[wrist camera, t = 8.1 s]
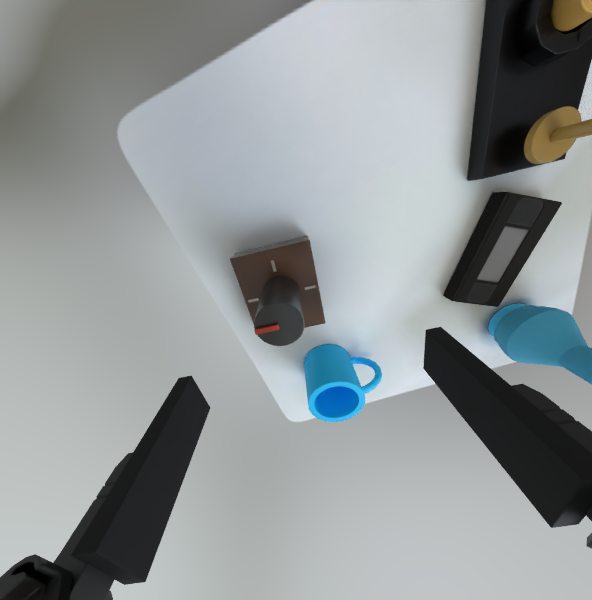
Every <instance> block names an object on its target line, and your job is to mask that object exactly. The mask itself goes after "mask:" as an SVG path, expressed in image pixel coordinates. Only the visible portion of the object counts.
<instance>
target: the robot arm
mask: <svg viewBox="0 0 592 600" xmlns="http://www.w3.org/2000/svg"><path fill="white" fill-rule="evenodd" d="M424 370H425V371H426V372H427V373H428V375H429V376H430V377H431V378H432V380H433V381H434V382H435V383H436V385H437V386H438V387H439V388H440V390H441V391H442V392H443V393H444V394H445V396H446V397H447V398H448V400H449V401H450V402H451V403H452V404H453V406H454V407H455V408H456V410H457V411H458V412H459V413H460V414H461V416H462V417H463V418H464V419H465V421H466V422H467V423H468V424H469V426H470V427H471V428H472V429H473V431H474V432H475V433H476V434H477V436H478V437H479V438H480V439H481V441H482V442H483V443H484V444H485V446H486V447H487V448H488V449H489V451H490V452H491V453H492V454H493V456H494V457H495V458H496V459H497V461H498V462H499V463H500V464H501V466H502V467H503V468H504V469H505V470H506V472H507V473H508V474H509V476H510V477H511V478H512V479H513V481H514V482H515V483H516V484H517V486H518V487H519V488H520V489H521V491H522V492H523V493H524V494H525V496H526V497H527V498H528V499H529V501H530V502H531V503H532V504H533V506H534V507H535V508H536V509H537V511H538V512H539V513H540V514H541V516H542V517H543V518H544V519H545V521H546V522H547V523H548V524H549V526H550V527H552V528H553V527H561V526H568V525H576V524H579V523H580V522H581V520H582V519H583V518H584V517H585V516H586V515H587V517H588V518H589V519H590V520H591V521H592V431H590V430H589V429H588V428H586V427H585V426H584V425H582V424H581V423H580V422H579V421H575V419H574V418H573V417H572V416H571V415H569V414H568V413H567V412H565V411H564V410H561V409H560V408H559V406H557V405H556V404H555V403H554V402H552V401H551V400H550V399H548V398H547V397H546V396H545V395H543V394H541V393H540V392H538V391H536V390H534V389H532V388H530V387H528V386H526V385H524V384H519V385H513V386H511V385H509V384H508V383H507V382H506V381H505V380H503V379H502V378H501V377H500V376H499V375H497V374H496V373H495V372H494V371H493V370H491V369H490V368H489V367H488V366H487V365H485V364H484V363H483V362H482V361H481V360H480V359H478V358H477V357H476V356H475V355H474V354H472V353H471V352H470V351H469V350H468V349H466V348H465V347H464V346H463V345H462V344H460V343H459V342H458V341H457V340H456V339H454V338H453V337H452V336H451V335H450V334H448V333H447V332H446V331H445V330H444V329H442V328H441V327H438V328H433V329H428V330H426V337H425V353H424ZM209 410H210V406H209V405H208V403H207V401H206V400H205V398H204V396H203V394H202V393H201V391H200V390H199V388H198V386H197V384H196V383H195V381H194V379H193V377H192V376H187V377H183V378H179V379H178V380H177V382H176V384H175V386H174V387H173V388H172V390H171V392H170V393H169V395H168V397H167V398H166V400H165V402H164V403H163V405H162V406H161V408H160V410H159V411H158V413H157V415H156V416H155V418H154V420H153V421H152V423H151V424H150V426H149V428H148V429H147V431H146V433H145V434H144V436H143V438H142V439H141V441H140V442H139V444H138V446H137V447H136V449H135V451H134V452H133V453H128V454H127V455H126V456H125V458H124V459H123V460H122V461H121V462H120V463H119V464H118V465H117V466H116V467H115V469H114V470H113V472H112V474H111V475H110V477H109V478H108V480H107V481H106V483H105V486H103V487H102V489H101V491H100V492H99V494H98V495H97V499H96V500H94V502H93V503H92V505H91V506H90V508H89V509H88V511H87V512H86V514H85V516H84V517H83V518H82V520H81V522H80V523H79V525H78V526H77V528H76V529H75V531H74V532H73V534H72V536H71V537H70V539H69V540H68V542H67V543H66V545H65V547H64V548H63V550H62V551H61V553H60V554H59V556H58V557H57V558H56V560H55V561H54V563H52V562H50V561H48V560H46V559H44V558H41V557H40V556H37V555H32V556H29V557H26V558H24V559H23V560H21V561H20V562H18V563H17V564H15V565H14V566H13V567H11V568H10V569H9V570H8V571H7V572H6V573H5V574H4V575H3V576H1V577H0V600H113V598H112V594H111V591H109V590H110V588H111V585H112V583H113V581H114V579H115V580H117V581H119V582H120V583H122V584H124V585H125V584H133V583H140V582H145V581H146V579H147V576H148V573H149V571H150V568H151V565H152V562H153V560H154V557H155V554H156V552H157V549H158V546H159V544H160V541H161V538H162V536H163V533H164V530H165V528H166V525H167V522H168V520H169V517H170V514H171V511H172V509H173V506H174V503H175V501H176V498H177V496H178V492H179V490H180V487H181V485H182V482H183V479H184V477H185V474H186V471H187V469H188V466H189V463H190V461H191V458H192V455H193V452H194V450H195V447H196V445H197V442H198V439H199V436H200V434H201V431H202V429H203V426H204V423H205V420H206V418H207V415H208V412H209ZM587 546H588V547H590V548H592V533H591V534H590V535H589V536H588V537H587Z"/></svg>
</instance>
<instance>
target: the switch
mask: <svg viewBox="0 0 592 600" xmlns="http://www.w3.org/2000/svg"><path fill="white" fill-rule="evenodd" d="M551 17H552V21H553V25H554V27H555V28H556V29H557V30H559V31H569V30H571V29H573V28H575V27H577V26H578V25H580V24H582V23H583V22H585V21H587V20H588V19H590V18H592V0H553V5H552V10H551Z"/></svg>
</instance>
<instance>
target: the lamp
mask: <svg viewBox="0 0 592 600" xmlns="http://www.w3.org/2000/svg"><path fill="white" fill-rule="evenodd" d="M589 135H592V119H590V120H586V121H582V122H581V115H580V113H579V111H578V110H577V109H576V108H574V107H570V106H565V107H561V108H558V109H555V110H552V111H550V112H548V113H546V114H544V115H543V116H542V117H541V118H539V119H538V120H537V121H536V122H535V124H534V125H533V126H532V128H531V129H530V131H529V133H528V135H527V137H526V140H525V144H524V154H525V157H526V159H527V160H528V161H529V162H531V163H534V164H541V163H547V162H551V161H554V160H556V159H558V158H559V157H561V156H562V155H563V154H565V153H566V152H567V151H568V150H569V149H570V148H571V146H572V145H573V143H574V142H575V140H576V138H580V137H585V136H589Z"/></svg>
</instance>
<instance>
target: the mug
mask: <svg viewBox="0 0 592 600" xmlns="http://www.w3.org/2000/svg"><path fill="white" fill-rule="evenodd" d="M354 363H356V364H365V365H368V366H370V367H372V368H373V369H374V371H375V377H374V379H373V380H372V381H371V382H370V383H368V384H367V385H365V386H363V387H361V385H360V382H359V380H358V377H357V375H356V372H355V370H354V367H353V365H352V364H354ZM304 368H305V377H306V387H307V397H308V406H309V410H310V411H311V413H312V415H314V416H315V417H317V418H318V419H321V420H324V421H330V422H337V421H343V420H346V419H349V418H351V417H353V416H355V415H356V414H357V413H358V412H359V411H360V410H361V409H362V408H363V406H364V404H365V395H364V394H365V393H368V392H369V391H371V390H372V389H374V388H375V387H376V386H377V385H378V384H379V382H380V380H381V376H382V373H381V369H380V367H379V366H378V365H377V364H376V363H375V362H374V361H372V360H370V359H366V358H362V357H352V358H350V357H349V355H348V353H347V352H346V351H345V350H344V349H343V348H342V347H339V346H337V345H332V344H327V345H321V346H318V347H316V348H314V349H313V350H311V351H310V352H309V353H308V355H307V356H306V357H305V361H304Z"/></svg>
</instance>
